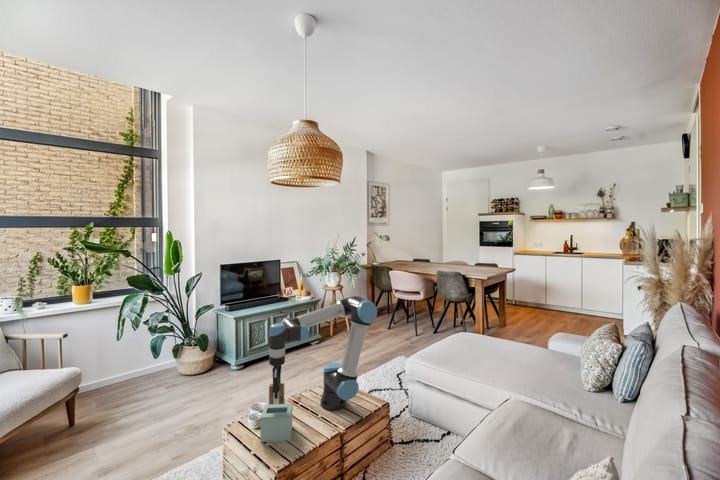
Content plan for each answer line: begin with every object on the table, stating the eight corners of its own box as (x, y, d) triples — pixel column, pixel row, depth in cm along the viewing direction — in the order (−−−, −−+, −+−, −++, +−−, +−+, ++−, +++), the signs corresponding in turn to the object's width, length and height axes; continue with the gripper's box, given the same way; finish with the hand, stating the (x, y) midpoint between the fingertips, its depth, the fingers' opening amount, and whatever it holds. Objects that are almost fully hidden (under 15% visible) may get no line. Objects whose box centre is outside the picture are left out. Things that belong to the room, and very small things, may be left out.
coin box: (292, 425, 180) (292, 403, 179) (290, 440, 168) (290, 416, 168) (264, 427, 178) (264, 404, 178) (260, 441, 167) (260, 417, 166)
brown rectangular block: (284, 400, 174) (284, 383, 174) (283, 404, 171) (283, 386, 171) (269, 401, 174) (270, 383, 173) (268, 404, 171) (269, 386, 170)
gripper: (271, 349, 179) (271, 394, 180) (266, 362, 163) (266, 411, 164) (286, 349, 180) (286, 394, 181) (282, 361, 164) (282, 410, 165)
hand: (276, 402), depth 172 cm, fingers closed on brown rectangular block, 3 cm apart
